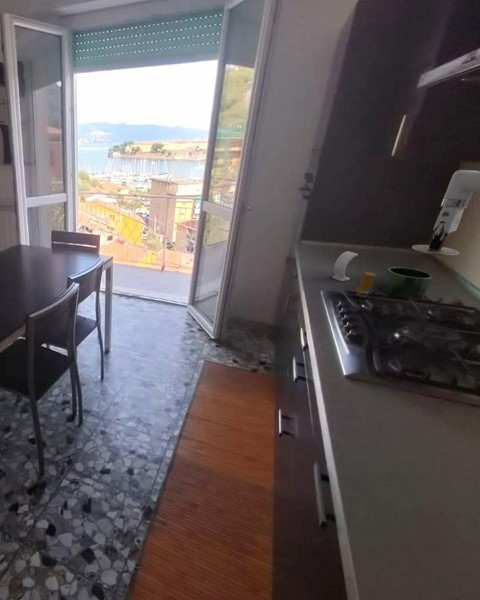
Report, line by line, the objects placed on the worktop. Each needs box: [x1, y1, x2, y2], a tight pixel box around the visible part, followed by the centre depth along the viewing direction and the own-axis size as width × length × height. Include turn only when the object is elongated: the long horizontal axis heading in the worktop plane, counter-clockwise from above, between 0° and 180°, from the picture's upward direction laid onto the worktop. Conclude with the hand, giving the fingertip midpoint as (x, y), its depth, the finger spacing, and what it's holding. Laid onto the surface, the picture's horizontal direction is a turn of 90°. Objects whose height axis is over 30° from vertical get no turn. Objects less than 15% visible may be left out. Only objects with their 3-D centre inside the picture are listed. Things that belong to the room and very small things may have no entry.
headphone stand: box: [331, 250, 359, 282], centre depth 157 cm, size 5×6×12 cm
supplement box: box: [355, 271, 377, 296], centre depth 139 cm, size 3×3×10 cm
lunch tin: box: [380, 266, 434, 300], centre depth 144 cm, size 14×14×8 cm
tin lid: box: [411, 236, 460, 257], centre depth 148 cm, size 15×15×7 cm
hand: (436, 247), depth 149 cm, fingers closed on tin lid, 4 cm apart
